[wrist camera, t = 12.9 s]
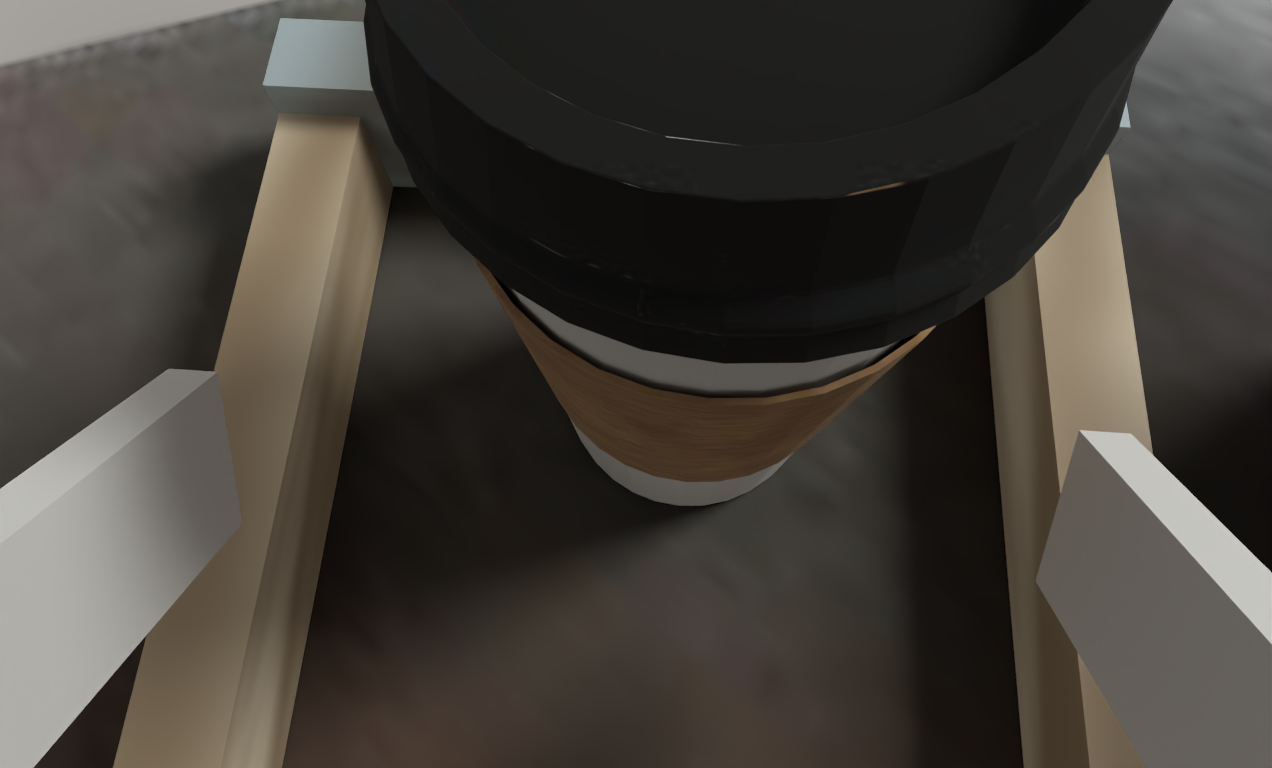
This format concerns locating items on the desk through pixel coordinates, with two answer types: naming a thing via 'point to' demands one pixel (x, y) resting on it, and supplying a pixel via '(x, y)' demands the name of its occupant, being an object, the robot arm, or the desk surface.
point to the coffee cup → (744, 192)
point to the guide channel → (324, 387)
